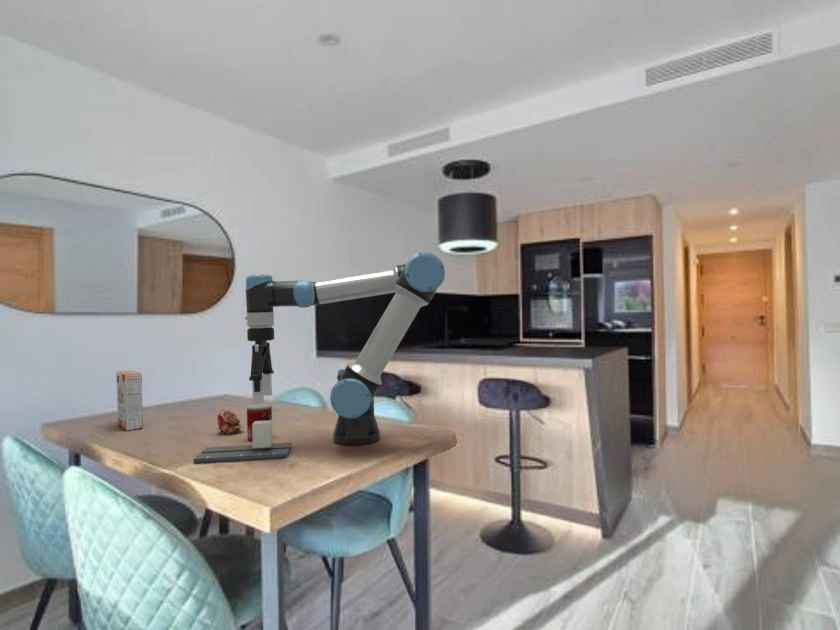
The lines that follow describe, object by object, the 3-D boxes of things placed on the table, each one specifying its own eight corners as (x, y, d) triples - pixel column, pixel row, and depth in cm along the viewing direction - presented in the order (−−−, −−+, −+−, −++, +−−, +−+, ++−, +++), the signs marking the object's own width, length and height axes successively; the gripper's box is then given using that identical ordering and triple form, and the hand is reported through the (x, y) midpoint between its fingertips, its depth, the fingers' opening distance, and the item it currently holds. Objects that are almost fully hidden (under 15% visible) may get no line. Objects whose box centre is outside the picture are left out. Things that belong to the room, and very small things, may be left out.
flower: (207, 432, 161) (220, 413, 161) (212, 421, 170) (224, 403, 170) (232, 445, 164) (245, 426, 164) (236, 433, 173) (248, 416, 173)
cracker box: (116, 425, 182) (115, 371, 182) (134, 423, 186) (133, 370, 186) (124, 431, 172) (123, 374, 172) (143, 428, 176) (142, 372, 176)
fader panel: (291, 447, 146) (291, 442, 146) (286, 458, 134) (286, 453, 134) (206, 451, 143) (206, 447, 143) (193, 464, 131) (193, 458, 131)
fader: (272, 448, 142) (272, 420, 142) (270, 452, 138) (270, 423, 138) (255, 449, 141) (255, 421, 141) (252, 453, 137) (252, 424, 137)
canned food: (264, 442, 153) (264, 408, 153) (242, 441, 155) (241, 407, 155) (276, 436, 160) (276, 403, 160) (255, 435, 162) (254, 403, 162)
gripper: (256, 327, 151) (258, 393, 151) (237, 328, 127) (239, 407, 126) (280, 326, 152) (282, 391, 152) (266, 327, 128) (268, 406, 128)
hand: (263, 399), depth 139 cm, fingers open, 13 cm apart
